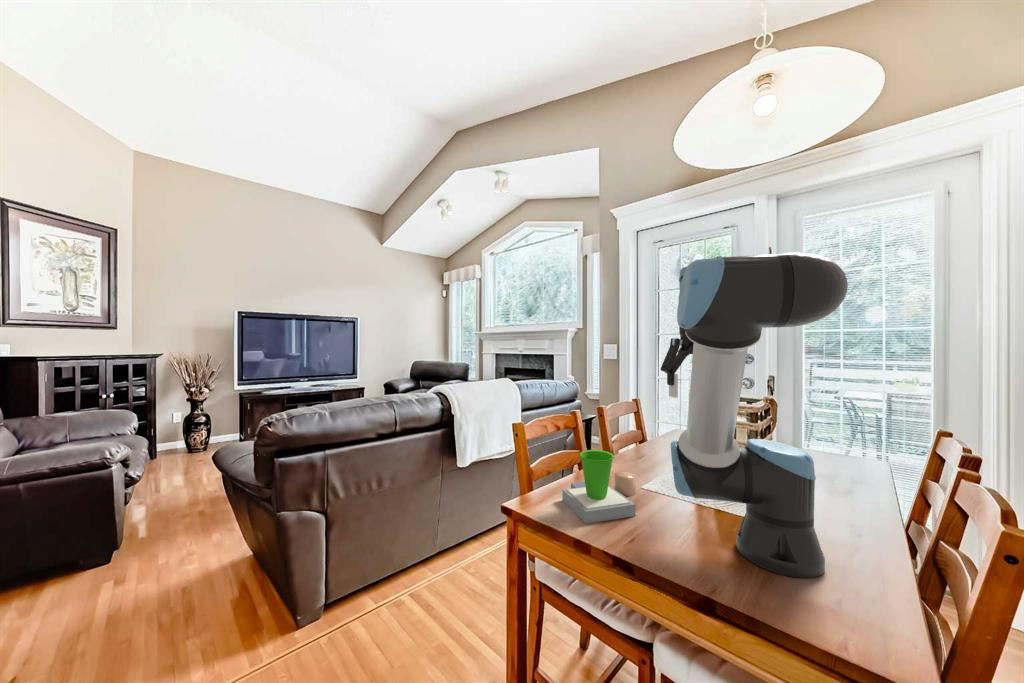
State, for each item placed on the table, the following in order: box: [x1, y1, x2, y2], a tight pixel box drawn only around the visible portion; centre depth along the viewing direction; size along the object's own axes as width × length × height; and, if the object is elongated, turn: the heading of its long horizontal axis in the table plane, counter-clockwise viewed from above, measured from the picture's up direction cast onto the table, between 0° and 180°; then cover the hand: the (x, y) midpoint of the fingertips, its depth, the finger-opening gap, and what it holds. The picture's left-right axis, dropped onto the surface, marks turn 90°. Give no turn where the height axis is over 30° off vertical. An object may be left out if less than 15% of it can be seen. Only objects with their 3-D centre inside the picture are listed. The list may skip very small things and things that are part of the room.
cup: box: [579, 449, 615, 500], centre depth 103 cm, size 9×9×11 cm
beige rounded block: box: [614, 471, 637, 497], centre depth 113 cm, size 6×6×5 cm
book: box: [570, 481, 585, 489], centre depth 114 cm, size 6×9×2 cm, turn 106°
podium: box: [561, 484, 636, 524], centre depth 103 cm, size 14×14×3 cm
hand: (693, 395), depth 110 cm, fingers open, 13 cm apart
